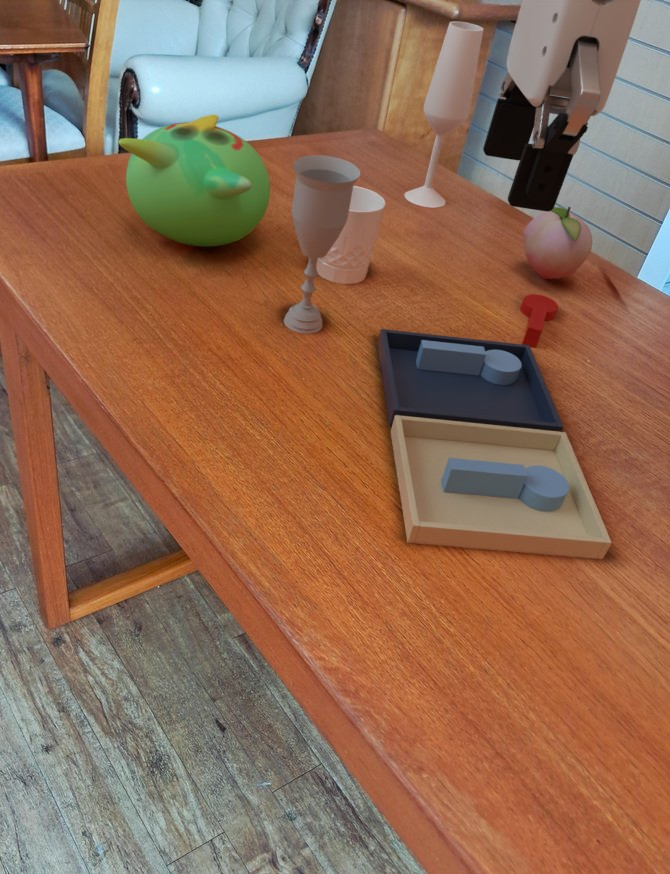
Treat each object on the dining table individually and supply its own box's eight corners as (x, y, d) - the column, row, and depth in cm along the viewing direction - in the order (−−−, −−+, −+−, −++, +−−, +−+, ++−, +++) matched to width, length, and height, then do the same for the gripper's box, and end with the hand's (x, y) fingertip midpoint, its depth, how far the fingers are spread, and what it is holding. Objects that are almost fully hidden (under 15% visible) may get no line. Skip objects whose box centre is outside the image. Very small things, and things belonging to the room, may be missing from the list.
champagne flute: (396, 197, 123) (433, 22, 107) (416, 186, 128) (455, 17, 112) (434, 211, 121) (478, 35, 105) (453, 200, 125) (498, 29, 109)
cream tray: (557, 451, 80) (565, 432, 78) (600, 562, 68) (612, 542, 67) (389, 434, 78) (394, 414, 76) (406, 546, 67) (412, 525, 65)
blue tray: (522, 363, 91) (529, 345, 90) (555, 446, 80) (563, 426, 78) (376, 347, 90) (380, 328, 88) (388, 430, 79) (394, 409, 77)
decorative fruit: (588, 294, 107) (618, 222, 100) (536, 296, 104) (563, 223, 98) (553, 261, 113) (579, 192, 106) (503, 262, 111) (526, 191, 104)
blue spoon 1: (512, 365, 90) (520, 343, 88) (520, 387, 86) (528, 365, 85) (414, 354, 89) (419, 332, 87) (418, 376, 85) (424, 354, 84)
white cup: (360, 295, 98) (376, 217, 92) (301, 278, 100) (312, 200, 93) (376, 269, 104) (392, 194, 97) (319, 254, 105) (331, 179, 98)
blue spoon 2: (555, 481, 75) (566, 459, 73) (567, 513, 72) (579, 491, 70) (438, 470, 74) (446, 447, 72) (445, 502, 71) (453, 479, 69)
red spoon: (521, 303, 102) (528, 283, 100) (555, 312, 102) (562, 293, 100) (509, 344, 94) (516, 323, 92) (545, 354, 93) (554, 334, 91)
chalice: (320, 349, 88) (347, 189, 76) (263, 332, 89) (282, 171, 77) (340, 320, 93) (369, 166, 81) (286, 304, 94) (307, 149, 82)
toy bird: (274, 227, 110) (287, 115, 100) (247, 282, 97) (259, 160, 87) (148, 202, 110) (149, 88, 100) (106, 253, 98) (102, 129, 88)
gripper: (728, -78, 41) (596, 238, 52) (626, -113, 53) (537, 147, 65) (589, -104, 40) (485, 222, 51) (519, -134, 53) (448, 133, 64)
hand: (514, 180), depth 58 cm, fingers open, 9 cm apart
